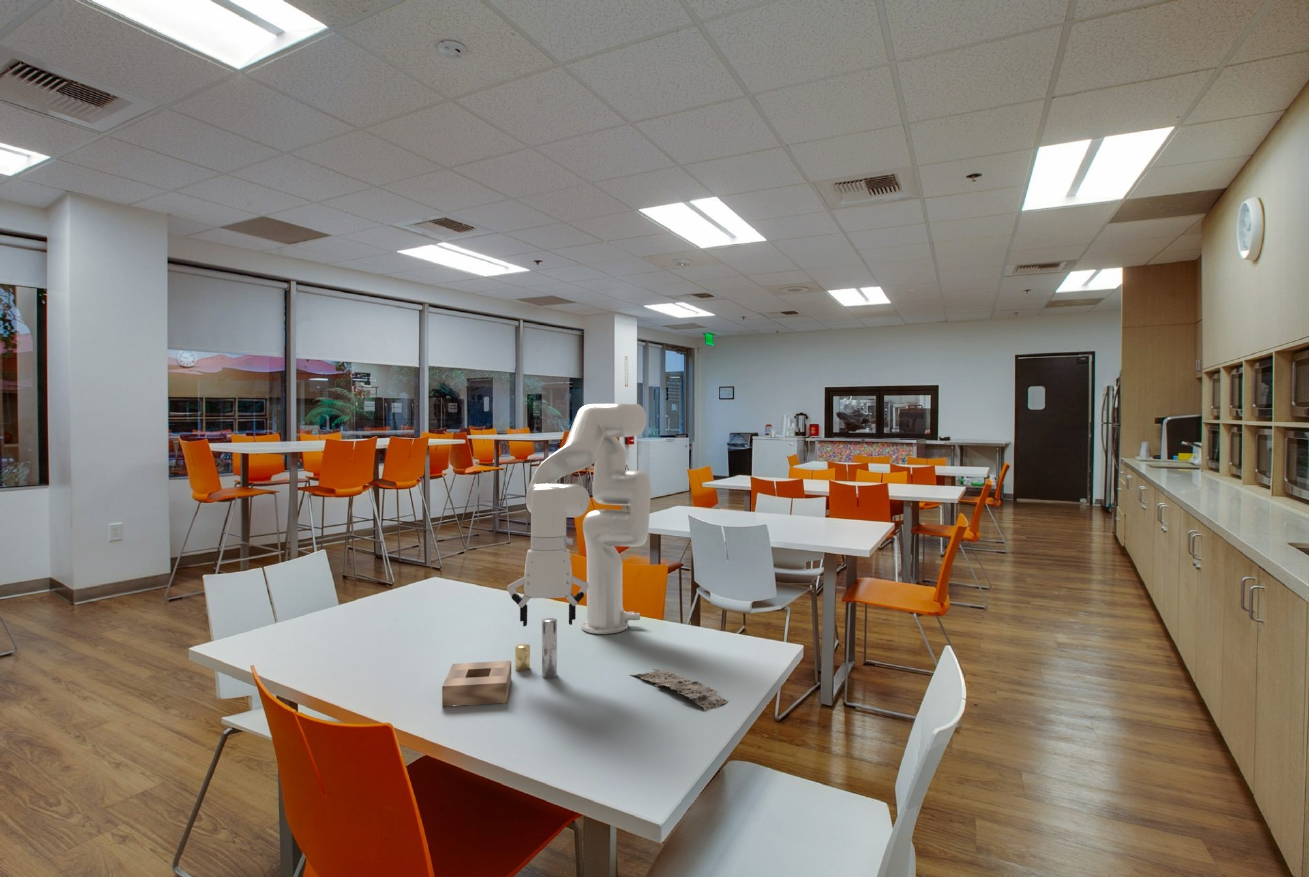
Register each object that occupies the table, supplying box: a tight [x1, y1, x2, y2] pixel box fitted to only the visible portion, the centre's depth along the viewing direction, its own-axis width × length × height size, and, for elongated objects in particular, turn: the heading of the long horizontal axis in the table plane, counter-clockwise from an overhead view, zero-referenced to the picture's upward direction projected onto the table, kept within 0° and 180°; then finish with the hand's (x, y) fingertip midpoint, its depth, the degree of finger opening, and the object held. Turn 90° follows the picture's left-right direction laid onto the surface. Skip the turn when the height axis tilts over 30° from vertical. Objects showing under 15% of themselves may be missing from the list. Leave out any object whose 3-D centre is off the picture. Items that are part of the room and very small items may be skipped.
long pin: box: [541, 617, 558, 679], centre depth 138 cm, size 3×3×12 cm
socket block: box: [441, 660, 512, 706], centre depth 129 cm, size 12×12×4 cm
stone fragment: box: [631, 668, 729, 712], centre depth 132 cm, size 25×3×10 cm
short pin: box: [514, 643, 531, 672], centre depth 142 cm, size 3×3×5 cm
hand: (547, 623), depth 138 cm, fingers open, 9 cm apart
